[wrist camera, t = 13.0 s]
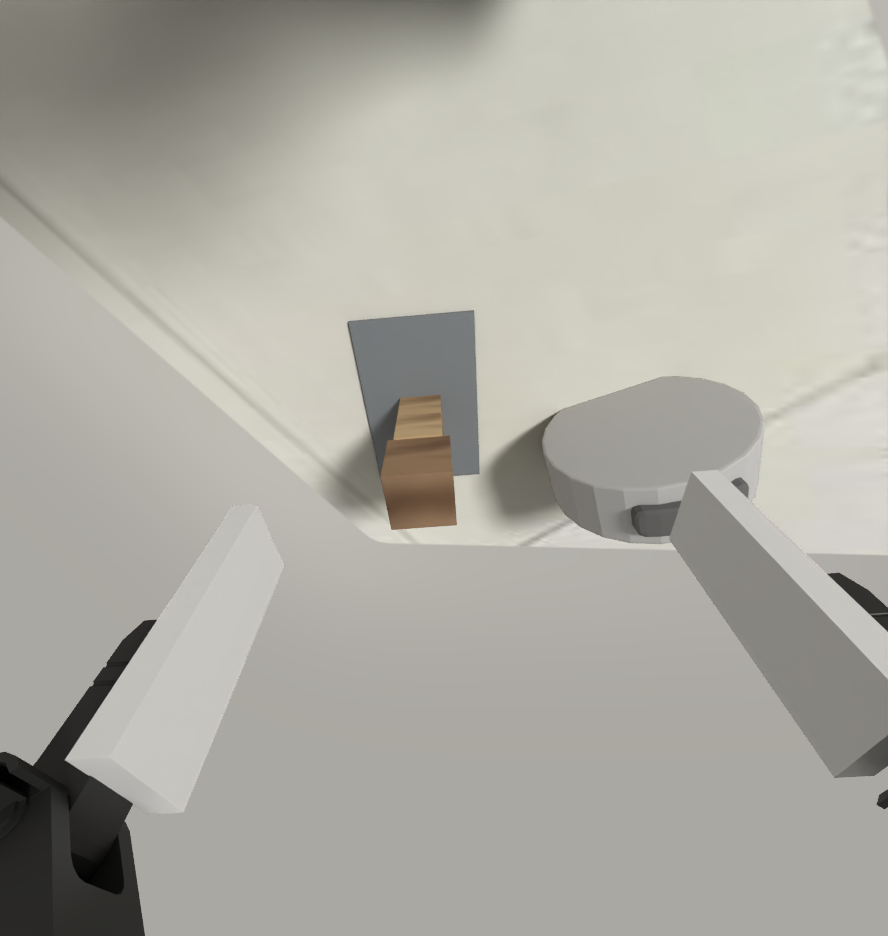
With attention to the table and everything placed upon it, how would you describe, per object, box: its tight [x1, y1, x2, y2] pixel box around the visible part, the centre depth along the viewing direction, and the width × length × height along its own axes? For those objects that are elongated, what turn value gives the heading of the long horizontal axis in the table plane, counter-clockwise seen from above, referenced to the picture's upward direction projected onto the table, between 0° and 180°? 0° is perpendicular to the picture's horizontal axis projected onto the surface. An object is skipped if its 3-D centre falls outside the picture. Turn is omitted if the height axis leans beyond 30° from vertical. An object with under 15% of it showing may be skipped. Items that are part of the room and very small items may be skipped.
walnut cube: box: [381, 436, 457, 530], centre depth 40 cm, size 6×6×6 cm
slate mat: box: [348, 310, 479, 477], centre depth 50 cm, size 22×14×1 cm, turn 4°
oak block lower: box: [397, 395, 444, 436], centre depth 49 cm, size 7×5×5 cm
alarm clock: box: [542, 376, 765, 544], centre depth 44 cm, size 21×8×20 cm, turn 110°
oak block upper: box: [394, 413, 443, 440], centre depth 45 cm, size 7×5×5 cm
